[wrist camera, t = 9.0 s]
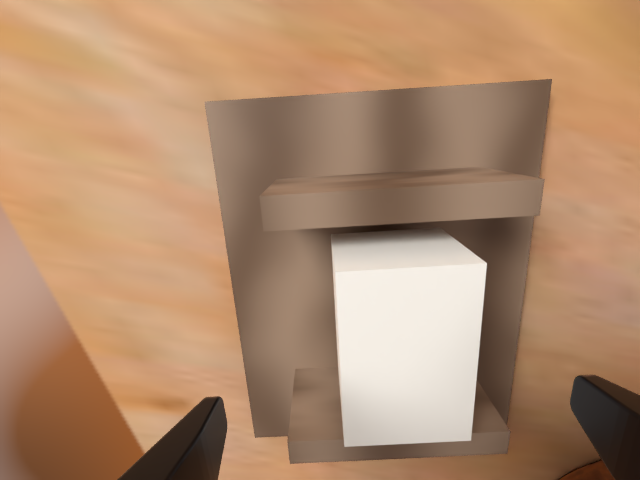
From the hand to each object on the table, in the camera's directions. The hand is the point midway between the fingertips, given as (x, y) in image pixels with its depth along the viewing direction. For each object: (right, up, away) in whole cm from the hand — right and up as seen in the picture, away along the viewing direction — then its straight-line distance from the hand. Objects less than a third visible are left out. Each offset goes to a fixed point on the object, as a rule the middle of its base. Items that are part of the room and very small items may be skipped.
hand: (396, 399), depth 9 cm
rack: (+1, +2, +11) cm, 11 cm away
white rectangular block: (+1, +1, +8) cm, 8 cm away
